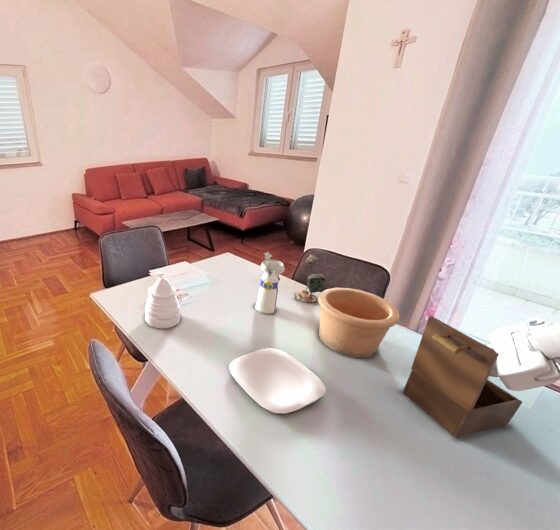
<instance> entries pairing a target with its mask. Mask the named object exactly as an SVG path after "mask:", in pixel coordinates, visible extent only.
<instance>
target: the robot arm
mask: <svg viewBox="0 0 560 530" xmlns="http://www.w3.org/2000/svg"><path fill="white" fill-rule="evenodd" d="M488 336H489V340H490V344H488V345H487V344H486V345H487V346H489V347H491V348H493V349H494V350H495V351H496V352H498V353H499V356H498V358H497V360H496V362H495V365H494V366H493V368H492V370H491V373H490V375H489V377H491V378H499V380H500V381H501V383H502V384H503V385H504V386H505V387H506V389H508V390H509V391H514V392H522V391H526V390H532V389H537V388H543V387H545V386H549V385H553V384H555V383H557V382H558V381H560V322H557V323H552V322H549V321H547V320H544V319H542V318H540V317H535V318H530V319H527V321H526V322H524V323H523V322H521V323H515V324H511V325H509V326H505V327H501V328H497V329H495V330H493V331H491V332H490V333H489V334H488Z"/></svg>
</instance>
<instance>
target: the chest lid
mask: <svg viewBox="0 0 560 530" xmlns="http://www.w3.org/2000/svg"><path fill="white" fill-rule="evenodd" d="M483 344H484V343H482V342H479V341H478V340H476V339H474V338H473V337H470V336H469V335H467V334H465V333H463V332H462V331H460V330H459V329H456V328H455V327H452V326H450V325H449V324H448V323H445V322H444V321H442V320H440V319H438V318H436V317H434V316H432V315H429V316H428V318H427V320H426V323H425V327H424V330H423V333H422V336H421V338H420V342H419V344H418V348H417V351H416V354H415V356H414V359H413V361H412V365H411V367H410V370H411V371H412V370H413V371H414V372H415V373H417V374H418V375H419V376H421V377H422V378H423V379H425V380H426V381H427V382H428V383H430V384H431V385H432V386H434V387H435V388H436V389H438V390H439V391H440V392H442V393H443V394H444V395H446V396H447V397H448V398H450V399H451V400H452V401H454V402H455V403H456V404H458V405H459V406H460V407H462V408H463V409H464V410H466V411H467V412H468V413H469V412H472V410H473V408H474V406H475V404H476V401H477V399H478V397H479V395H480V393H481V391H482V389H483V387H484V385H485V383H486V381H487V379H488V380H489V377H490V376H489V375H490V373H491V370H492V368H493V366H494V364H496V363H495V362H496V360H497V358H498V356H499V353H498V352H496V351H494V350H492V349H490V348H489V347H487V346H485V345H486V344H484V345H483Z"/></svg>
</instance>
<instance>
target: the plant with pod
mask: <svg viewBox="0 0 560 530" xmlns="http://www.w3.org/2000/svg"><path fill="white" fill-rule="evenodd" d="M317 261H318V257H316V256H315V255H313V254H309V256H308V257H307V258H306V260H305V262H304V265H306V264H310V270H309V274H308V276H307V279H306V281H307V285H306V289H305V290H304V289H302V290H300V292H295V296H294V299H296V300H298V301H302V302H306V303H310V302H317V296H316V295H315V293H321V292H323V291H325V290H326V276H325V275H324V274H322V273H314V274H312V269H313V265H315V264H316V263H317Z"/></svg>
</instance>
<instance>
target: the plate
mask: <svg viewBox="0 0 560 530" xmlns="http://www.w3.org/2000/svg"><path fill="white" fill-rule="evenodd" d="M228 369H229V373H230V375H231V376H232V378H233V379H234V381H235V382H236V383H237V384H238V386H240V387H241V389H242V390H243V391H244V392H245V393H246V394H247V395H248V396H249V397H250V398H251V399H252V400H253V401H254V402H255V403H256V404H257V405H258V406H260V407H261V408H262V409H264V410H266V411H268V412H270V413H272V414H276V415H277V414H279V415H286V414H290V413H293V412H297V411H299V410H301V409H303V408H306V407H307V406H309V405H311V404H314V403H315V402H317V401H318V400H319V399H321V398H322V397H324V395H325V393H326V389H327V388H326V387H325V385H324V383H323V381H322V380H321V379H320V377H318V376H317V375H316V374H315V373H314V372H313V371H312V370H310V369H309V368H307V366H305V365H304V364H303V363H301V362H300V361H299V360H298V359H296V358H295V357H294V356H292V355H290V354H289V353H288V352H286V351H283V350H282V349H278V348H273V347H272V348H271V347H266V348H262V349H261V348H260V349H257V350H254V351H252V352H249V353H246V354H243V355H240V356H239V357H236V358H234V359H233V360H232V361H231V362H230V363H229V364H228Z"/></svg>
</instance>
